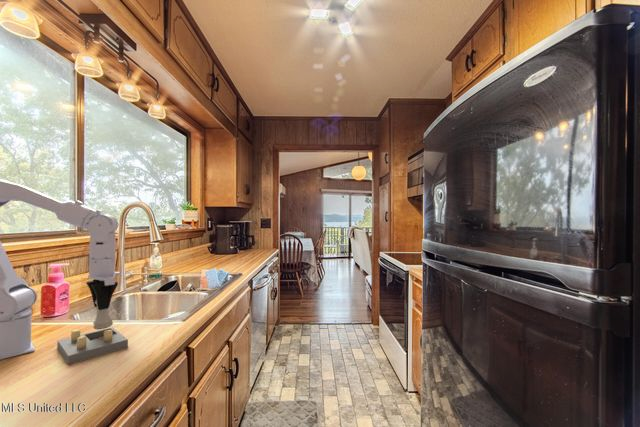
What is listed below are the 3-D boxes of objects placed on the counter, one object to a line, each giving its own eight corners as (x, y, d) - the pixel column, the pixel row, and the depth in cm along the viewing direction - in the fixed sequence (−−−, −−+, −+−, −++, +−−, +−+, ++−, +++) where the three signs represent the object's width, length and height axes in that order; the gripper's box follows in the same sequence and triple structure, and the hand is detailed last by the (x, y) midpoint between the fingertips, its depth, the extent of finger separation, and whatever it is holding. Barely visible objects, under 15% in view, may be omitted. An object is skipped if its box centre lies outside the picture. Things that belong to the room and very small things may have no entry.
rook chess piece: (110, 321, 83) (108, 294, 83) (115, 325, 80) (114, 297, 80) (90, 327, 79) (89, 298, 79) (96, 331, 77) (94, 301, 76)
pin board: (57, 348, 75) (57, 330, 75) (112, 334, 84) (112, 318, 84) (68, 364, 67) (68, 345, 67) (127, 347, 76) (128, 329, 76)
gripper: (128, 259, 78) (127, 309, 78) (111, 254, 87) (110, 299, 87) (96, 261, 73) (95, 316, 73) (82, 256, 82) (80, 304, 82)
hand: (101, 307), depth 79 cm, fingers closed on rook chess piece, 3 cm apart
